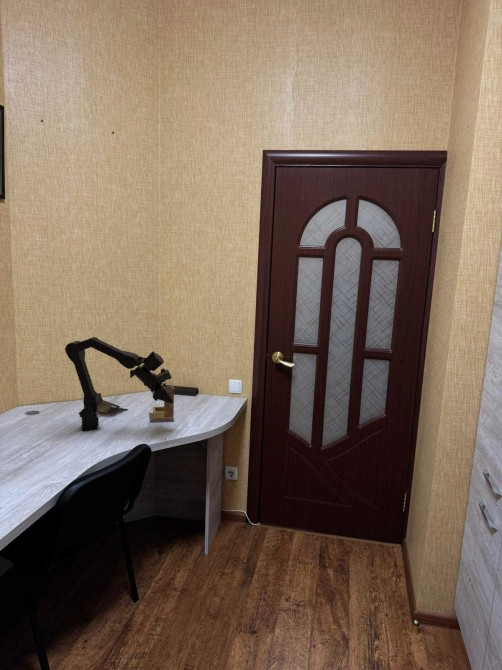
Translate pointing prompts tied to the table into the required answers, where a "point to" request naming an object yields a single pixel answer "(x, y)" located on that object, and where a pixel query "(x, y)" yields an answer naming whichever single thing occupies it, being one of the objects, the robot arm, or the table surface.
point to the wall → (107, 406)
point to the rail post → (168, 406)
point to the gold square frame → (159, 415)
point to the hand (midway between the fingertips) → (172, 401)
